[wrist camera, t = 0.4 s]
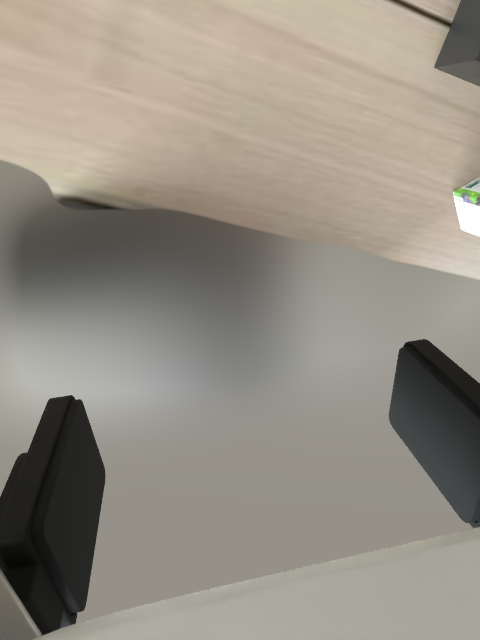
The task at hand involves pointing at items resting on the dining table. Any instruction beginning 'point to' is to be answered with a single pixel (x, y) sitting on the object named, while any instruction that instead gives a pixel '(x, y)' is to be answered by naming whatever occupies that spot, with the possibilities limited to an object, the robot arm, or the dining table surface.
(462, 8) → the push button box
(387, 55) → the dining table surface
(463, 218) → the syrup box
